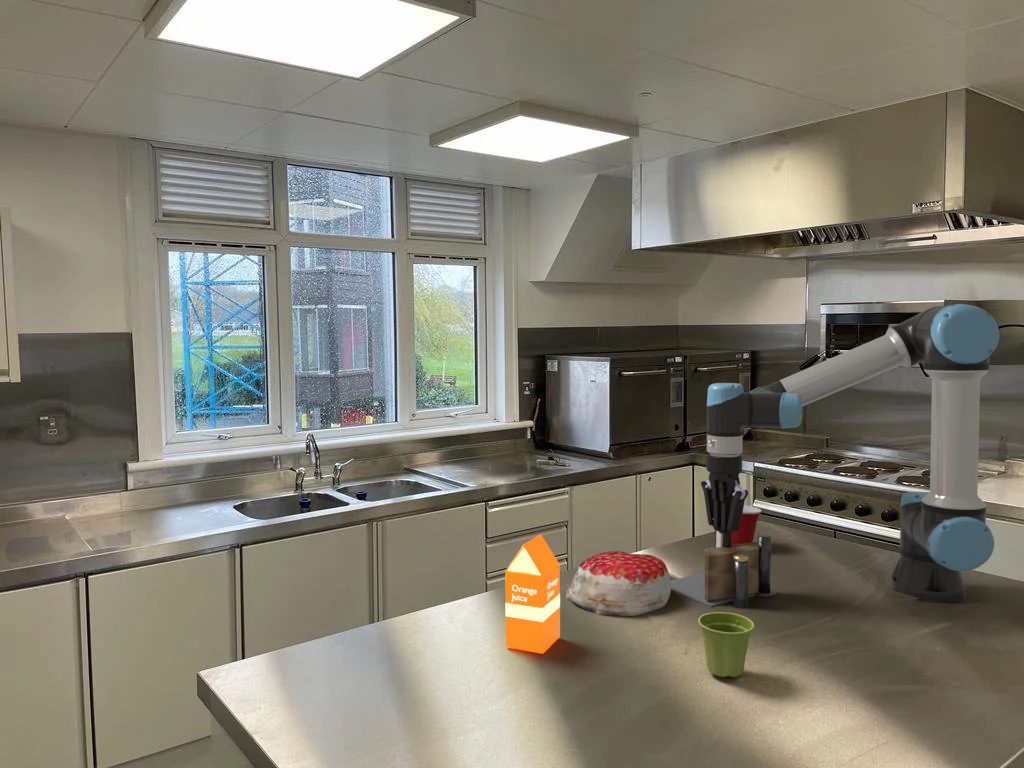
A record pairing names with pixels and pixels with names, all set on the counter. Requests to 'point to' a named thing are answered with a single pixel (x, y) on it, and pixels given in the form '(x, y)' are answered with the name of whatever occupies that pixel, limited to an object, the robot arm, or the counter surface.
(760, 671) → the counter surface
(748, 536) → the plastic cup
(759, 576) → the salt and pepper shakers
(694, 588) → the rubber mat
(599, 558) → the strawberry shortcake
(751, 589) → the gate
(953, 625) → the counter surface
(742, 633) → the plant pot
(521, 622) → the orange juice
